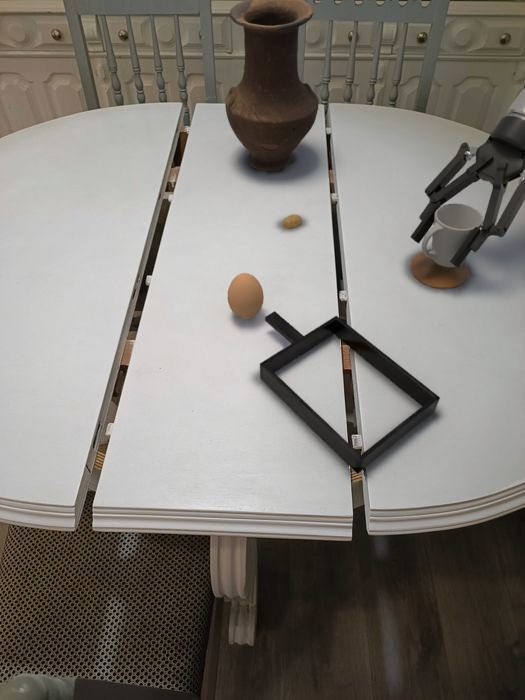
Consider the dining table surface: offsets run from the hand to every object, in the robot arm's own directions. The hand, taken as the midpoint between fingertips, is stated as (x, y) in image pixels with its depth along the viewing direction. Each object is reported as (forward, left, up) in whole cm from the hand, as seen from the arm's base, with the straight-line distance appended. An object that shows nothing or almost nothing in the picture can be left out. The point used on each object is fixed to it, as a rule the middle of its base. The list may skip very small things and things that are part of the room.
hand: (433, 252), depth 88 cm
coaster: (0, -3, -6) cm, 7 cm away
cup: (0, -3, -4) cm, 5 cm away
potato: (+27, +8, -6) cm, 29 cm away
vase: (+48, -4, -6) cm, 49 cm away
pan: (-6, +29, -6) cm, 30 cm away
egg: (+13, +30, -6) cm, 33 cm away
